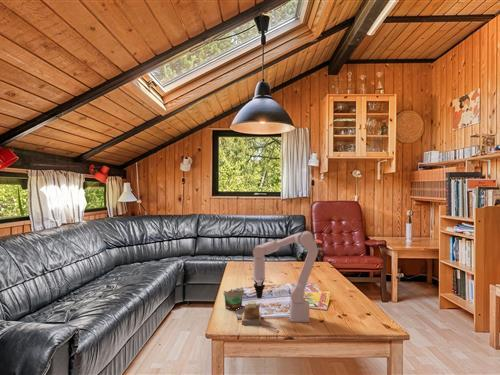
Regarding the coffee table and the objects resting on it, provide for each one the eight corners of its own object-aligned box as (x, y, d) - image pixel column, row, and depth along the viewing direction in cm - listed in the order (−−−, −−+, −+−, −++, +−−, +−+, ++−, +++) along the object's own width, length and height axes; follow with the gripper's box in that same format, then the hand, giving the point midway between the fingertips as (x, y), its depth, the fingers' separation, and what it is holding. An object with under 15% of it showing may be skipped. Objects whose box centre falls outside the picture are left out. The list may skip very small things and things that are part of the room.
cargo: (256, 305, 163) (256, 301, 163) (256, 308, 159) (256, 303, 159) (248, 305, 163) (248, 301, 163) (247, 307, 159) (247, 303, 159)
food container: (229, 313, 170) (229, 294, 170) (223, 309, 175) (223, 290, 175) (248, 307, 178) (248, 289, 178) (242, 304, 183) (242, 286, 183)
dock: (260, 316, 166) (260, 312, 166) (260, 325, 156) (260, 320, 156) (243, 316, 166) (243, 312, 166) (241, 324, 156) (241, 320, 156)
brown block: (259, 314, 164) (259, 304, 163) (259, 318, 159) (259, 308, 158) (245, 314, 164) (245, 304, 164) (244, 318, 159) (244, 308, 159)
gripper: (251, 265, 174) (251, 290, 174) (251, 273, 160) (251, 300, 160) (264, 265, 174) (264, 290, 174) (265, 273, 160) (265, 300, 160)
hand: (259, 295), depth 167 cm, fingers open, 7 cm apart
